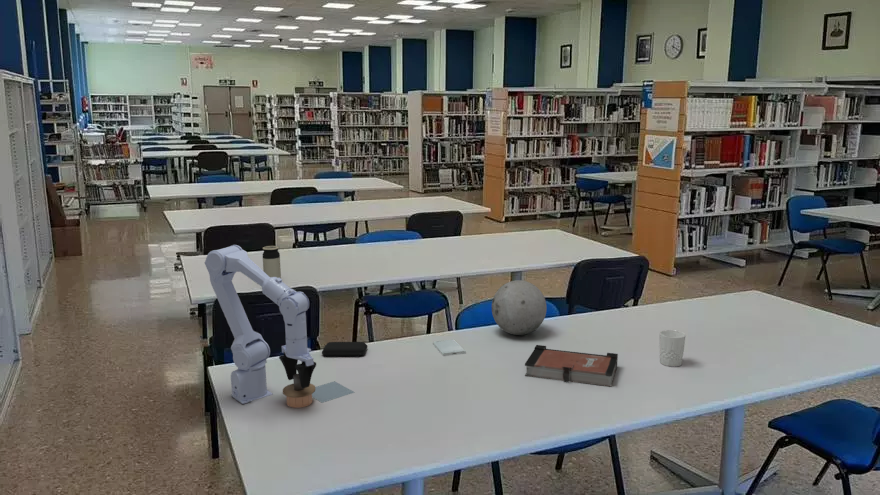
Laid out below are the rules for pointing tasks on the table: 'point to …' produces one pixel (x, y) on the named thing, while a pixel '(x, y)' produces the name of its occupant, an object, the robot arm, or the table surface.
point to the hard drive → (448, 347)
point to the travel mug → (271, 261)
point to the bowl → (299, 401)
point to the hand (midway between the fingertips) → (298, 383)
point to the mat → (330, 391)
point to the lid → (298, 388)
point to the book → (572, 366)
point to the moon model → (518, 307)
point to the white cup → (671, 347)
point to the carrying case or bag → (344, 349)
